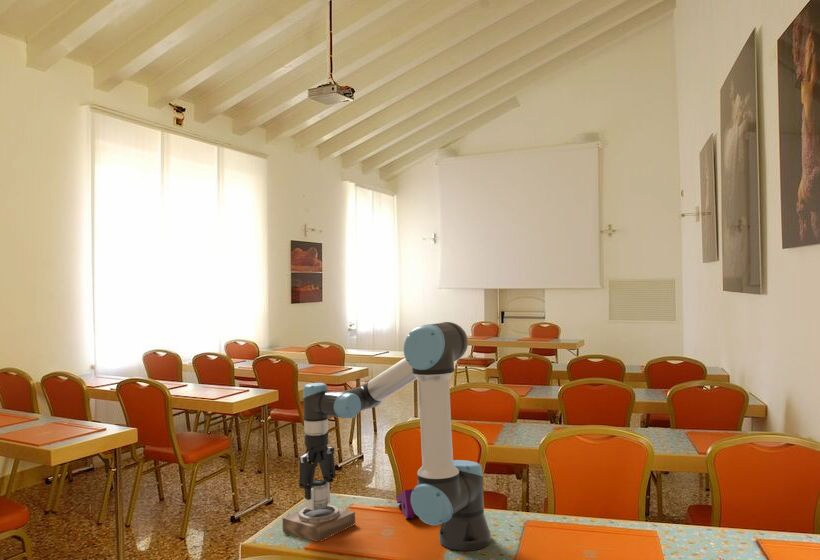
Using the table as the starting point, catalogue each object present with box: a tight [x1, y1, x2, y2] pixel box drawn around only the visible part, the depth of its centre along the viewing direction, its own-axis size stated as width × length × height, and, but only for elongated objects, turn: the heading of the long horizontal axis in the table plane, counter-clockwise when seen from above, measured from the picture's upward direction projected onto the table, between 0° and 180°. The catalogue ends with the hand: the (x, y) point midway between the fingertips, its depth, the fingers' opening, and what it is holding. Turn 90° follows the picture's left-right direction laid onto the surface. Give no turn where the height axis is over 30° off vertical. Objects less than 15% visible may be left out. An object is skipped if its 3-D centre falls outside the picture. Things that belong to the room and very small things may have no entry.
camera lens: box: [312, 479, 329, 510], centre depth 199 cm, size 6×6×8 cm
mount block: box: [282, 503, 356, 542], centre depth 199 cm, size 16×16×5 cm
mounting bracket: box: [395, 488, 415, 520], centre depth 211 cm, size 10×8×18 cm
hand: (318, 505), depth 199 cm, fingers closed on camera lens, 6 cm apart
